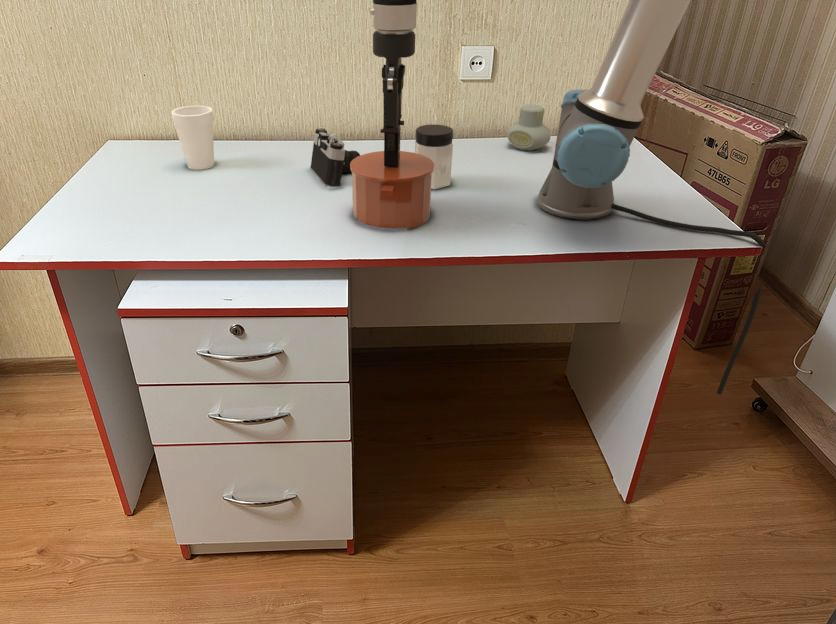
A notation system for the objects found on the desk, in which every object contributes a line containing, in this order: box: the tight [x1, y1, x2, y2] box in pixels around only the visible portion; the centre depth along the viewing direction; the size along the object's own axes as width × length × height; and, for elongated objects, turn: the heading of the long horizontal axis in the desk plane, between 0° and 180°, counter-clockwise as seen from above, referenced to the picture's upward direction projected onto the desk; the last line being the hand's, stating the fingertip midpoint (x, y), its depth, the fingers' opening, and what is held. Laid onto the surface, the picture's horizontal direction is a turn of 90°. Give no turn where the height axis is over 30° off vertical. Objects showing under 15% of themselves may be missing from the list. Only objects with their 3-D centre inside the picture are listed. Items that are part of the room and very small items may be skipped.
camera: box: [310, 126, 361, 188], centre depth 147 cm, size 15×11×10 cm
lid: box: [350, 124, 434, 182], centre depth 123 cm, size 17×17×9 cm
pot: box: [351, 172, 432, 230], centre depth 128 cm, size 16×21×10 cm
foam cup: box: [170, 105, 215, 171], centre depth 153 cm, size 10×9×13 cm
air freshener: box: [506, 104, 552, 151], centre depth 163 cm, size 11×8×10 cm
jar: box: [414, 124, 454, 190], centre depth 142 cm, size 9×8×12 cm
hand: (392, 162), depth 125 cm, fingers closed on lid, 3 cm apart
